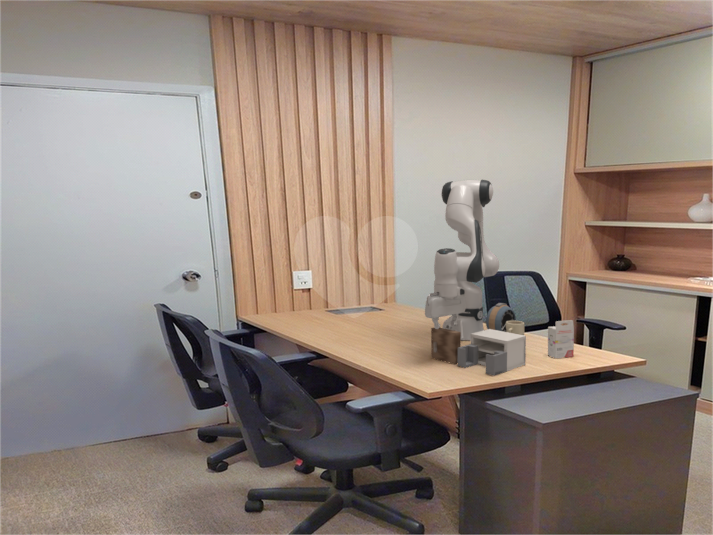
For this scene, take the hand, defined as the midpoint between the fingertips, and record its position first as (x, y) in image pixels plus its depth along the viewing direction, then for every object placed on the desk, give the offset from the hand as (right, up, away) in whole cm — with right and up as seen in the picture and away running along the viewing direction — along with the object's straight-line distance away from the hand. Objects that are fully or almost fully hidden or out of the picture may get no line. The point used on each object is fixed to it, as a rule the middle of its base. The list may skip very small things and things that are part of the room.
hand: (445, 326), depth 196 cm
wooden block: (0, -13, +2) cm, 13 cm away
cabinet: (+16, -14, -6) cm, 22 cm away
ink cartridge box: (+46, -12, +5) cm, 48 cm away
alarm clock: (+29, -10, +27) cm, 41 cm away
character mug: (+29, -12, +9) cm, 33 cm away
